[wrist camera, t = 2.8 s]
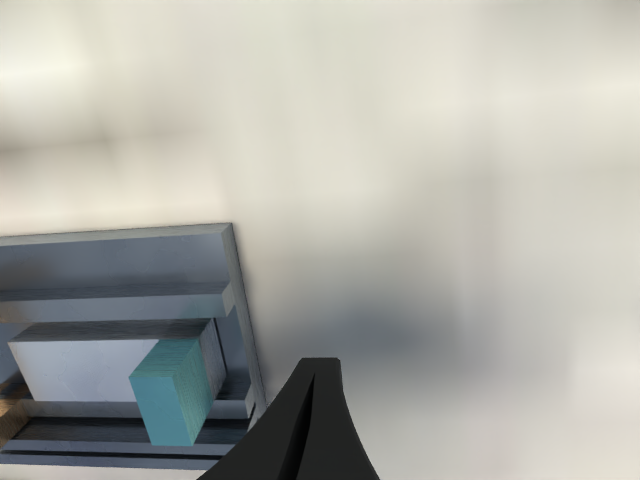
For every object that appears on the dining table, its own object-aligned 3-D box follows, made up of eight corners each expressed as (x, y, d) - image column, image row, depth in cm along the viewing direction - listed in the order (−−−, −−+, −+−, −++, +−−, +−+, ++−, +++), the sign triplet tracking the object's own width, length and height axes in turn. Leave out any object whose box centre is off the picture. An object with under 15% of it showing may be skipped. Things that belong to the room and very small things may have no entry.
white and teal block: (226, 375, 16) (192, 446, 13) (61, 376, 17) (-9, 441, 14) (212, 316, 15) (171, 377, 12) (37, 321, 16) (-45, 377, 13)
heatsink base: (267, 413, 18) (242, 499, 14) (35, 411, 20) (-43, 487, 16) (231, 222, 15) (184, 268, 11) (-47, 240, 17) (-172, 284, 13)
